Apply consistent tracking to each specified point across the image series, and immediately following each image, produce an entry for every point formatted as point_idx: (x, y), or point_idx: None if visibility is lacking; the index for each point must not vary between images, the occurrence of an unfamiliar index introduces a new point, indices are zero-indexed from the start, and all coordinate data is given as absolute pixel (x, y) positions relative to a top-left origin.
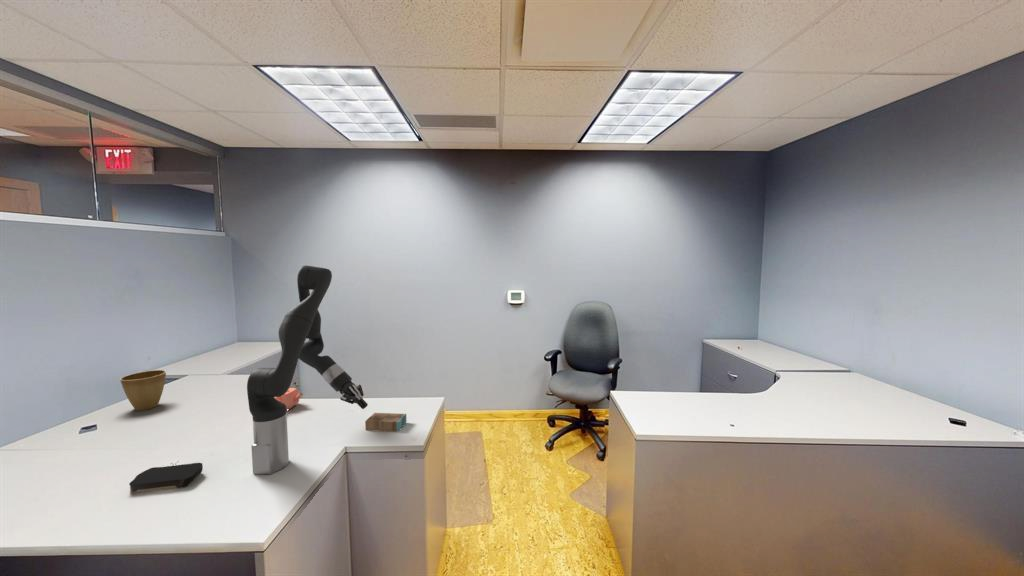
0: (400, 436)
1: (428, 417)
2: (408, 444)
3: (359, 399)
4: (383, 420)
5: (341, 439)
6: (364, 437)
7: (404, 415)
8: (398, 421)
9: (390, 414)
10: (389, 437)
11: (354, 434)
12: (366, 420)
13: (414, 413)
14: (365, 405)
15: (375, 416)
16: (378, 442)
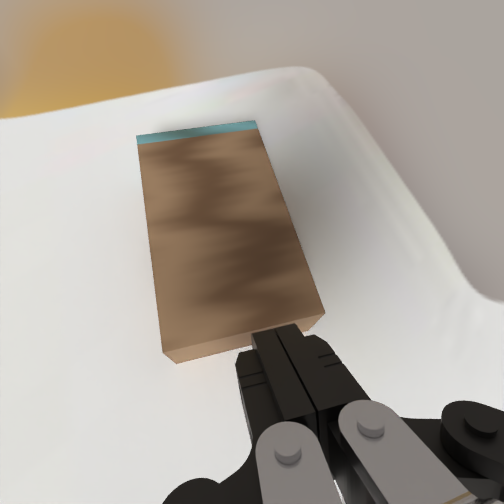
0: (288, 134)
1: (71, 115)
2: (327, 86)
3: (374, 402)
4: (266, 202)
5: (468, 391)
6: (375, 273)
7: (162, 133)
8: (247, 124)
9: (166, 214)
10: (316, 166)
11: (381, 359)
12: (314, 310)
13: (17, 195)
14: (296, 329)
15: (228, 294)
16: (374, 182)
